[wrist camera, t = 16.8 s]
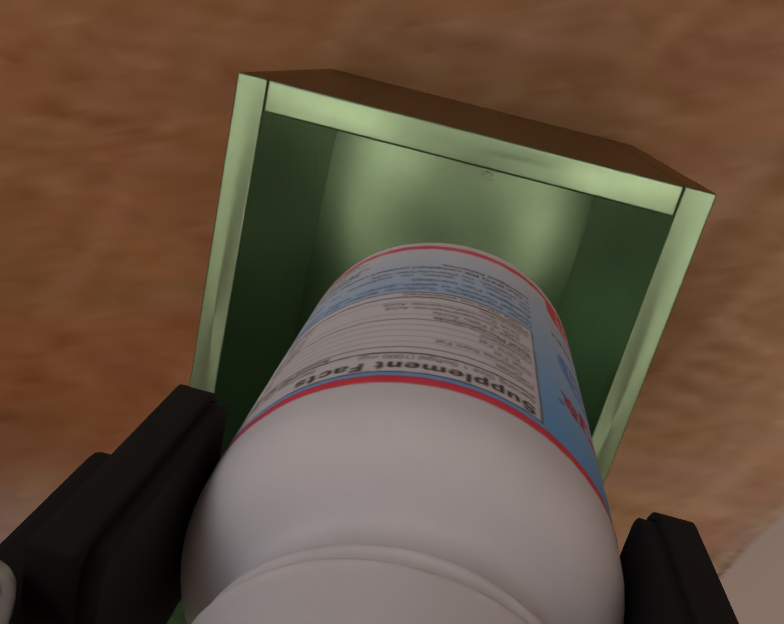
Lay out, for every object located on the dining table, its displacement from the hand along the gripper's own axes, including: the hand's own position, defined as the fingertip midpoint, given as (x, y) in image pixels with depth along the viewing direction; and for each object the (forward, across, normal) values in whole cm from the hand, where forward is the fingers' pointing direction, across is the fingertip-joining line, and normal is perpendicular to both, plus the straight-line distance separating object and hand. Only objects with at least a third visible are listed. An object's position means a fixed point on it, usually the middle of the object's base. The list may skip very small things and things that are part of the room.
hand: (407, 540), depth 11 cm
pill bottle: (+7, 0, 0) cm, 7 cm away
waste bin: (+25, +1, +2) cm, 26 cm away
